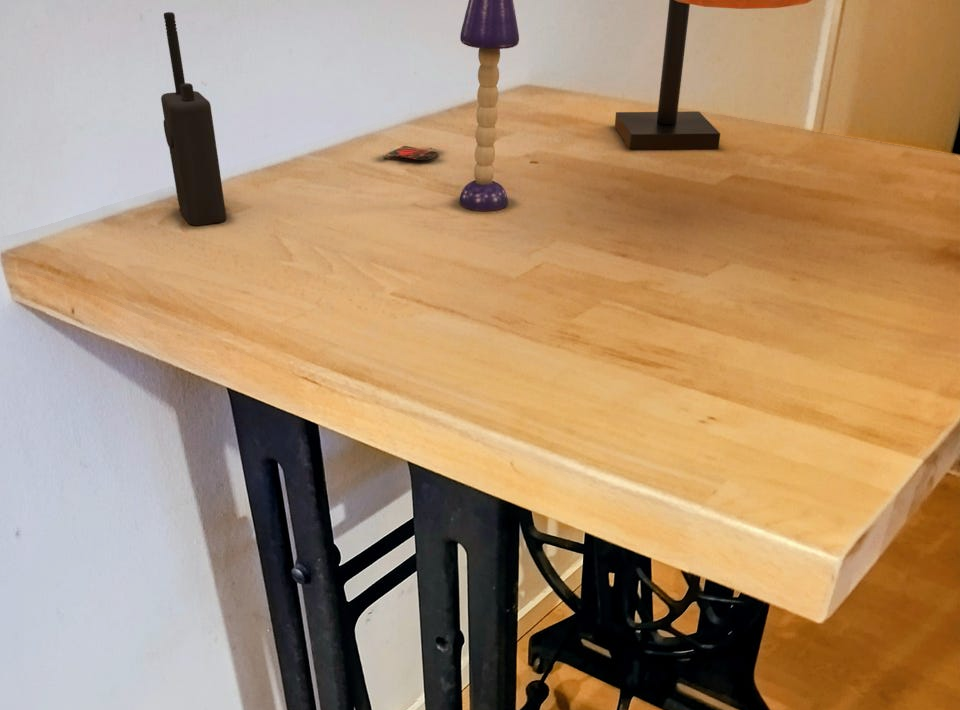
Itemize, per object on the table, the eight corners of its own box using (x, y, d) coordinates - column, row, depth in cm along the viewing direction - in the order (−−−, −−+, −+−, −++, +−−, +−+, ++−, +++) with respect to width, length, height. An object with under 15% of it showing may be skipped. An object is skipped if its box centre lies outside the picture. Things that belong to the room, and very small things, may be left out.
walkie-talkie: (228, 221, 84) (200, 18, 75) (187, 227, 83) (153, 21, 74) (214, 204, 87) (185, 8, 78) (174, 210, 86) (140, 11, 77)
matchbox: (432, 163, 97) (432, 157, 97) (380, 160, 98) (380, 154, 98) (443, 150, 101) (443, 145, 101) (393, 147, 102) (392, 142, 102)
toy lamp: (516, 197, 90) (522, -19, 80) (512, 214, 86) (518, -10, 76) (462, 195, 90) (461, -20, 80) (456, 212, 86) (454, -12, 76)
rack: (697, 126, 110) (715, -17, 102) (718, 149, 103) (739, -3, 95) (614, 126, 109) (626, -17, 101) (629, 150, 102) (643, -3, 94)
